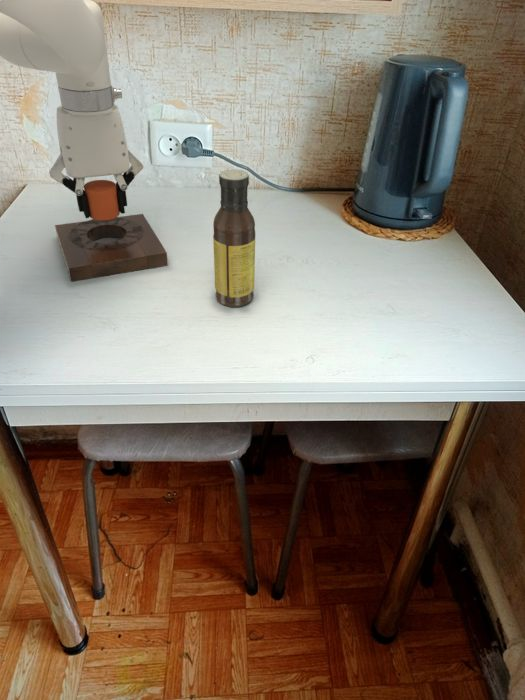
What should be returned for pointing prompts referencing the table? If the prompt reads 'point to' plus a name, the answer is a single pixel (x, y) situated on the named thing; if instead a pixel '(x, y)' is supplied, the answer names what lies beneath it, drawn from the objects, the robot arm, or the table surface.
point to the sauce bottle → (234, 241)
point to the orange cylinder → (102, 199)
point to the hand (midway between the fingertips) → (103, 211)
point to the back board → (109, 247)
